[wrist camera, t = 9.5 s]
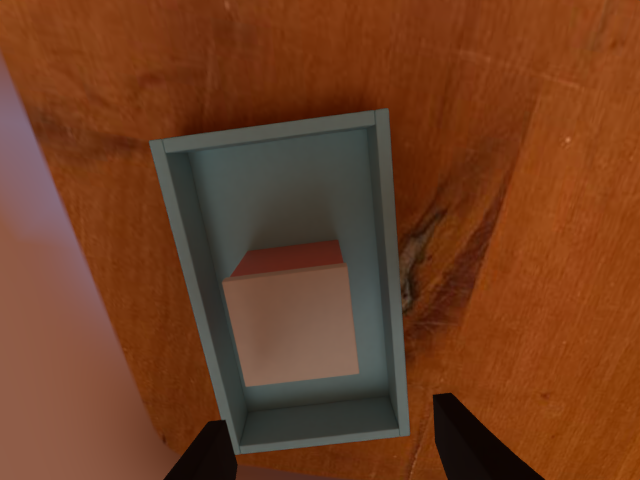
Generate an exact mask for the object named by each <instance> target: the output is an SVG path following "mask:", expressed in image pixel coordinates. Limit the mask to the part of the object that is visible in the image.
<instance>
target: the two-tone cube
mask: <svg viewBox="0 0 640 480" xmlns="http://www.w3.org/2000/svg"><path fill="white" fill-rule="evenodd" d="M222 285H223V290H224V294H225V298H226V303H227V307H228V311H229V316H230V320H231V325H232V329H233V333H234V338H235V342H236V346H237V351H238V355H239V359H240V364H241V368H242V373H243V377H244V381H245V386H246V387H249V386H258V385H267V384H275V383H284V382H293V381H301V380H310V379H319V378H327V377H336V376H344V375H353V374H359V365H358V356H357V347H356V338H355V329H354V320H353V311H352V302H351V293H350V284H349V276H348V267H347V263H344V262H343V258H342V254H341V249H340V245H339V241H338V240H330V241H322V242H315V243H307V244H299V245H291V246H283V247H275V248H267V249H259V250H251V251H247V252H246V254H245V255H244V257H243V258H242V260H241V261H240V263H239V264H238V266H237V267H236V269H235V270H234V271H233V273H232V274H231V276H230V277H227V278H224V280H223V281H222Z"/></svg>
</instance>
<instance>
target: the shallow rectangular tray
mask: <svg viewBox="0 0 640 480" xmlns="http://www.w3.org/2000/svg"><path fill="white" fill-rule="evenodd" d="M149 145H150V148H151V152H152V156H153V160H154V164H155V167H156V171H157V175H158V179H159V183H160V187H161V190H162V194H163V198H164V202H165V206H166V209H167V213H168V217H169V221H170V225H171V229H172V232H173V236H174V240H175V244H176V248H177V251H178V255H179V259H180V263H181V267H182V271H183V274H184V278H185V282H186V286H187V290H188V293H189V297H190V301H191V305H192V309H193V313H194V316H195V320H196V324H197V328H198V332H199V335H200V339H201V343H202V347H203V351H204V355H205V358H206V362H207V366H208V370H209V374H210V377H211V381H212V385H213V389H214V393H215V397H216V400H217V404H218V408H219V412H220V416H221V419H222V420H226V423H227V427H228V431H229V434H230V438H231V442H232V446H233V450H234V453H235V455H238V454H247V453H256V452H265V451H274V450H283V449H292V448H301V447H310V446H319V445H329V444H338V443H347V442H356V441H365V440H374V439H383V438H392V437H399V435H400V436H409V435H410V426H409V411H408V396H407V380H406V365H405V350H404V335H403V319H402V304H401V289H400V273H399V258H398V243H397V228H396V212H395V197H394V182H393V167H392V151H391V136H390V121H389V109H388V108H384V109H377V110H375V111H374V110H369V111H362V112H355V113H347V114H340V115H333V116H325V117H318V118H311V119H303V120H296V121H289V122H281V123H274V124H267V125H259V126H252V127H245V128H237V129H230V130H223V131H215V132H208V133H201V134H193V135H186V136H178V137H171V138H164V139H157V140H150V141H149ZM330 240H338V241H339V245H340V249H341V254H342V258H343V262H344V263H347V267H348V276H349V284H350V293H351V302H352V311H353V320H354V329H355V338H356V347H357V356H358V365H359V374H353V375H344V376H336V377H327V378H319V379H310V380H301V381H293V382H284V383H275V384H267V385H258V386H249V387H246V386H245V381H244V377H243V373H242V368H241V364H240V359H239V355H238V351H237V346H236V342H235V338H234V333H233V329H232V325H231V320H230V316H229V311H228V307H227V303H226V298H225V294H224V290H223V285H222V281H223V280H224V278H227V277H230V276H231V274H232V273H233V271H234V270H235V269H236V267H237V266H238V264H239V263H240V261H241V260H242V258H243V257H244V255H245V254H246V252H247V251H251V250H259V249H267V248H275V247H283V246H291V245H299V244H307V243H315V242H322V241H330Z"/></svg>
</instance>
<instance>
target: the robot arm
mask: <svg viewBox="0 0 640 480" xmlns="http://www.w3.org/2000/svg"><path fill="white" fill-rule="evenodd" d="M433 407H434V428H435V443H436V446H437V449H438V452H439V455H440V458H441V461H442V464H443V467H444V470H445V473H446V476H447V478H448V480H545V479H544V478H543V477H541V476H540V475H539V474H538V473H537V472H535V471H534V470H533V469H532V468H531V467H529V466H528V465H527V464H526V463H525V462H524V461H522V460H521V459H520V458H519V457H518V456H517V455H515V454H514V453H513V452H512V451H511V450H510V449H509V448H508V447H507V446H505V445H504V444H503V443H502V442H501V441H500V440H499V439H498V438H497V437H496V436H495V435H494V434H492V433H491V432H490V431H489V430H488V429H487V428H486V427H485V426H484V425H483V424H482V423H481V422H480V421H479V420H478V419H477V418H476V417H475V416H474V415H473V414H472V413H471V412H470V411H469V410H468V409H467V408H466V407H465V406H464V405H463V404H462V403H461V402H460V401H459V400H458V399H457V398H456V397H455V396H454V395H453V394H452V393H444V394H436V395H433ZM236 472H237V461H236V457H235V453H234V450H233V446H232V442H231V438H230V434H229V431H228V427H227V423H226V420H218V421H209V422H208V423H207V424H206V425H205V427H204V428H203V429H202V430H201V432H200V433H199V434H198V436H197V437H196V438H195V440H194V441H193V442H192V443H191V445H190V446H189V447H188V449H187V450H186V451H185V453H184V454H183V455H182V457H181V458H180V459H179V461H178V462H177V463H176V464H175V466H174V467H173V468H172V469H171V471H170V472H169V473H168V474H167V476H166V477H165V478H164V480H235V479H236Z"/></svg>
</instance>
